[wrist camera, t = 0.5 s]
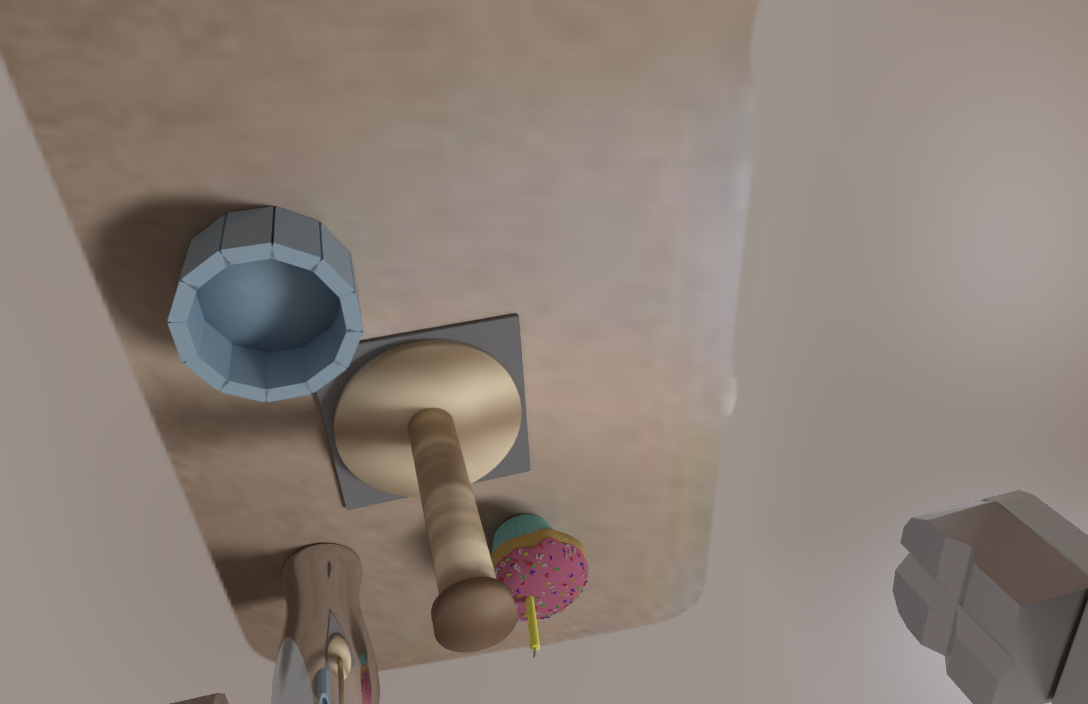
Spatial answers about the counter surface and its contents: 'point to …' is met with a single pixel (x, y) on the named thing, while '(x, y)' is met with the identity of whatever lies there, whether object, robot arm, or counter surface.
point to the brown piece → (438, 466)
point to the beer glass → (324, 632)
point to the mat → (485, 334)
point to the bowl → (266, 305)
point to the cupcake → (538, 569)
